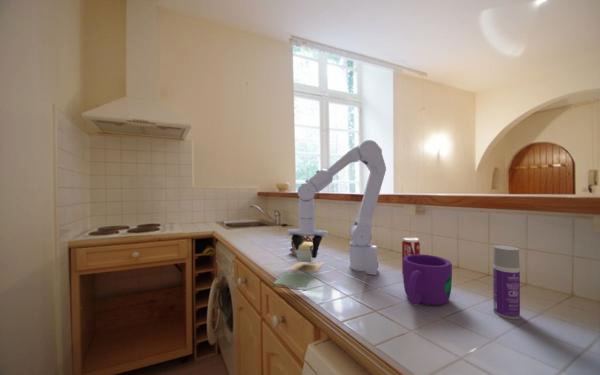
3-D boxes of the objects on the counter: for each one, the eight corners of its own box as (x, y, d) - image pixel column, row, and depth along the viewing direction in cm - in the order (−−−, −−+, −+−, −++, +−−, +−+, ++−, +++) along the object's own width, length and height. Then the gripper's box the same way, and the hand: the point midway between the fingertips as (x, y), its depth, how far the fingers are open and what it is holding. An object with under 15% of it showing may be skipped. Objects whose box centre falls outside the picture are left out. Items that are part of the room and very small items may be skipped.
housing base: (317, 256, 93) (316, 245, 93) (311, 262, 86) (310, 250, 86) (303, 255, 95) (303, 244, 95) (296, 261, 87) (296, 249, 87)
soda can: (399, 276, 82) (399, 238, 82) (405, 272, 86) (405, 236, 86) (416, 280, 79) (416, 241, 79) (422, 275, 83) (422, 238, 83)
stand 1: (324, 265, 93) (324, 263, 93) (317, 275, 84) (317, 272, 84) (298, 263, 97) (298, 260, 97) (288, 272, 87) (288, 269, 87)
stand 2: (315, 278, 81) (315, 275, 81) (305, 290, 72) (305, 287, 72) (285, 275, 84) (285, 272, 84) (273, 286, 75) (273, 283, 75)
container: (512, 321, 55) (511, 251, 55) (488, 311, 59) (488, 246, 59) (524, 316, 57) (524, 248, 57) (500, 307, 61) (500, 244, 61)
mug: (411, 286, 74) (411, 251, 74) (456, 297, 67) (456, 258, 67) (386, 307, 62) (385, 265, 61) (438, 324, 54) (438, 276, 54)
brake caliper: (282, 252, 104) (291, 226, 110) (293, 263, 112) (302, 238, 118) (306, 256, 98) (315, 228, 104) (317, 267, 106) (324, 240, 112)
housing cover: (315, 245, 93) (315, 242, 93) (309, 250, 86) (309, 246, 86) (304, 244, 94) (304, 241, 94) (298, 249, 88) (298, 245, 88)
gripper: (329, 217, 92) (329, 254, 92) (291, 216, 96) (291, 252, 96) (325, 219, 85) (325, 260, 85) (284, 218, 90) (284, 257, 90)
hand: (307, 256), depth 90 cm, fingers closed on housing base, 5 cm apart
